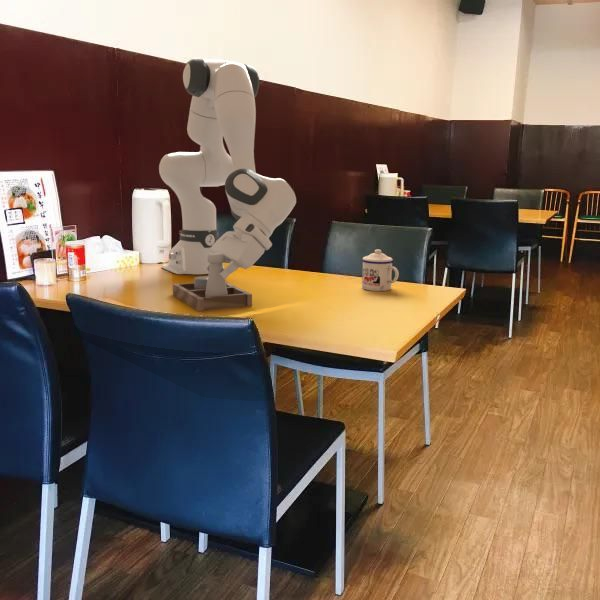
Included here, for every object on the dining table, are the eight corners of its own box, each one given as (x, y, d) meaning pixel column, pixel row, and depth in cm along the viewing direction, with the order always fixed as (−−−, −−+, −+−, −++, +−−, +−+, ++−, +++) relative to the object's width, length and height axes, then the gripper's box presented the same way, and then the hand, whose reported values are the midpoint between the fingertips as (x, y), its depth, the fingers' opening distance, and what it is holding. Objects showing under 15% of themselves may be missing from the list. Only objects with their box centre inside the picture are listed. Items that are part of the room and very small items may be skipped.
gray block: (190, 296, 167) (189, 278, 165) (207, 293, 170) (207, 275, 169) (202, 299, 163) (202, 281, 162) (219, 296, 166) (219, 278, 165)
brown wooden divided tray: (173, 298, 168) (172, 283, 167) (221, 293, 175) (221, 279, 174) (199, 315, 151) (198, 299, 150) (252, 309, 157) (252, 294, 156)
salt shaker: (223, 307, 155) (222, 255, 152) (201, 305, 156) (200, 254, 153) (231, 302, 161) (230, 252, 158) (210, 300, 162) (209, 251, 159)
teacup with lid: (354, 288, 185) (356, 249, 183) (373, 284, 192) (374, 246, 189) (387, 294, 177) (389, 254, 175) (405, 290, 184) (408, 251, 181)
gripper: (226, 220, 166) (192, 259, 164) (258, 228, 149) (221, 271, 146) (241, 236, 169) (208, 274, 167) (275, 246, 152) (238, 288, 150)
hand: (214, 273), depth 157 cm, fingers open, 8 cm apart
